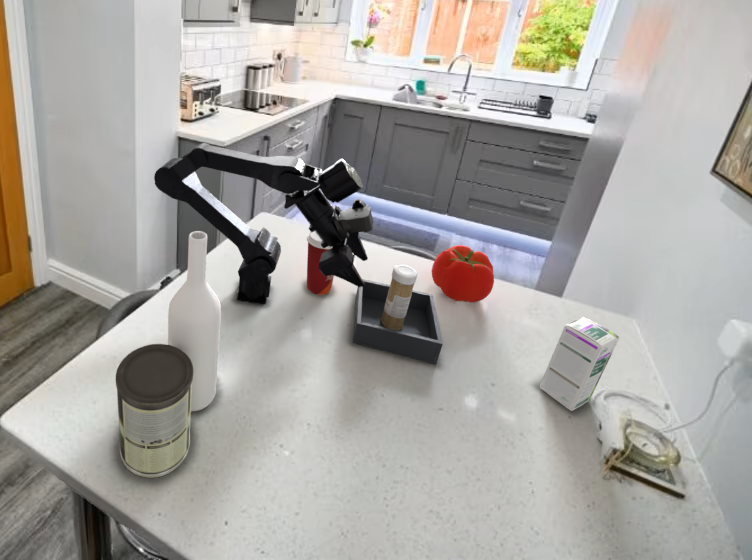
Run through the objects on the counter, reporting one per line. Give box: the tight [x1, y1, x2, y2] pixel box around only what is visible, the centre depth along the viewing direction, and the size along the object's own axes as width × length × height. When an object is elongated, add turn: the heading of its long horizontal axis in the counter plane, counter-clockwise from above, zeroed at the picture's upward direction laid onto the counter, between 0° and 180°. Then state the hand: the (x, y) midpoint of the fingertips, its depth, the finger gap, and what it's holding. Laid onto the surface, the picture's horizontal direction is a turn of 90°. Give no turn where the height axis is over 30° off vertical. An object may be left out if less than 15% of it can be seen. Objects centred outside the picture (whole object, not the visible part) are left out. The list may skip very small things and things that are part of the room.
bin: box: [352, 278, 444, 365], centre depth 90 cm, size 16×16×5 cm
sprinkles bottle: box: [381, 264, 418, 331], centre depth 88 cm, size 5×5×13 cm
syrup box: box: [539, 316, 620, 412], centre depth 75 cm, size 6×6×14 cm
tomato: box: [431, 244, 495, 303], centre depth 102 cm, size 14×13×10 cm
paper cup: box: [306, 230, 335, 296], centre depth 99 cm, size 8×8×14 cm
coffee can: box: [115, 343, 193, 479], centre depth 61 cm, size 10×10×14 cm
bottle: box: [167, 230, 222, 412], centre depth 67 cm, size 8×8×30 cm
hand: (364, 272), depth 89 cm, fingers open, 9 cm apart
